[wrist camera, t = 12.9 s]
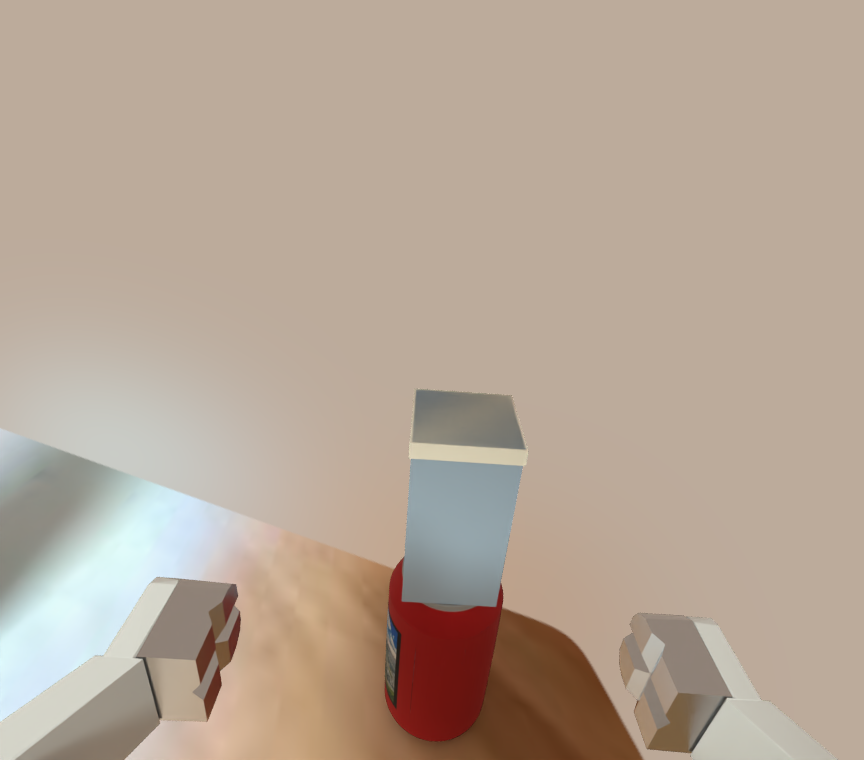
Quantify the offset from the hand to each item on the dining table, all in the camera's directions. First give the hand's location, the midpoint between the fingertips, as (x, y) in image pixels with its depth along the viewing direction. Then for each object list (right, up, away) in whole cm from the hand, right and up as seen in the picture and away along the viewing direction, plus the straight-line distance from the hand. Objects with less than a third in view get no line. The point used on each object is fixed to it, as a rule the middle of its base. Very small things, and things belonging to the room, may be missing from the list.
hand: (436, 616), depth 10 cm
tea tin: (+1, -6, +18) cm, 19 cm away
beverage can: (0, -17, +23) cm, 29 cm away
